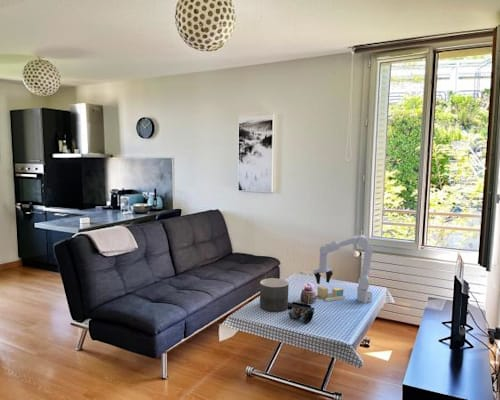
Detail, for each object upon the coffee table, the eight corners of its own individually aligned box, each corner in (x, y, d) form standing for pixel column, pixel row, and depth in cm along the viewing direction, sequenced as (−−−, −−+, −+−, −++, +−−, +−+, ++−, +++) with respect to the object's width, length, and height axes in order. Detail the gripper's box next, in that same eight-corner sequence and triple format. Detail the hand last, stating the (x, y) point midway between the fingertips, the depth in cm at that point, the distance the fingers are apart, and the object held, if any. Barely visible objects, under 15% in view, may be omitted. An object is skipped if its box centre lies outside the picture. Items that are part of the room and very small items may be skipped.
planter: (286, 313, 232) (286, 288, 231) (257, 310, 236) (257, 285, 234) (289, 303, 250) (289, 279, 248) (262, 300, 253) (262, 277, 252)
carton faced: (335, 299, 255) (336, 290, 254) (332, 297, 258) (332, 288, 258) (343, 297, 257) (343, 289, 257) (339, 296, 261) (339, 287, 260)
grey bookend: (344, 300, 256) (344, 295, 256) (326, 303, 250) (326, 298, 250) (333, 294, 267) (333, 290, 267) (315, 297, 261) (315, 292, 261)
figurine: (307, 316, 214) (285, 306, 223) (308, 328, 217) (286, 318, 226) (316, 308, 220) (294, 299, 229) (316, 320, 223) (294, 310, 232)
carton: (327, 297, 258) (327, 288, 257) (322, 298, 256) (322, 289, 256) (322, 294, 263) (322, 285, 263) (317, 295, 262) (317, 286, 261)
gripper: (329, 260, 264) (328, 280, 266) (311, 262, 258) (310, 282, 260) (335, 263, 258) (334, 283, 259) (317, 265, 252) (316, 285, 253)
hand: (323, 282), depth 259 cm, fingers open, 7 cm apart
